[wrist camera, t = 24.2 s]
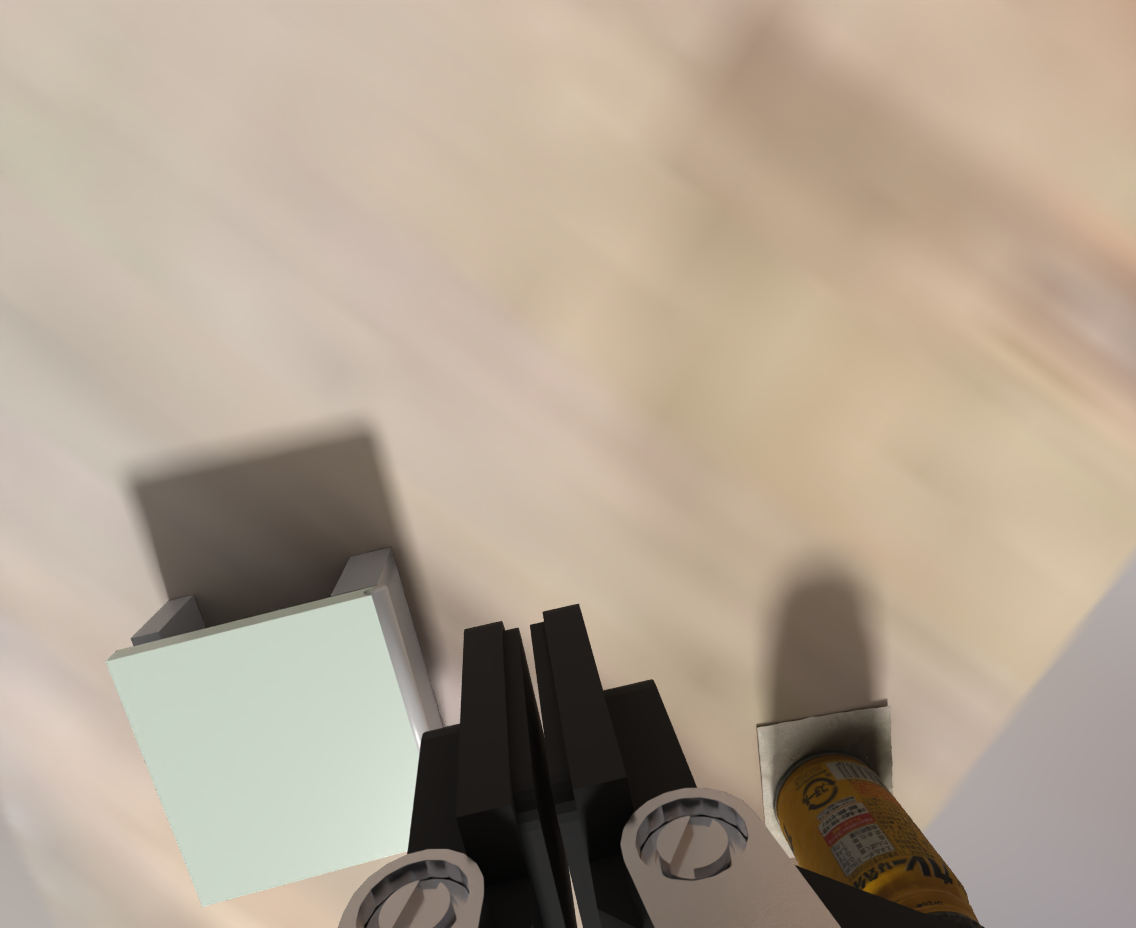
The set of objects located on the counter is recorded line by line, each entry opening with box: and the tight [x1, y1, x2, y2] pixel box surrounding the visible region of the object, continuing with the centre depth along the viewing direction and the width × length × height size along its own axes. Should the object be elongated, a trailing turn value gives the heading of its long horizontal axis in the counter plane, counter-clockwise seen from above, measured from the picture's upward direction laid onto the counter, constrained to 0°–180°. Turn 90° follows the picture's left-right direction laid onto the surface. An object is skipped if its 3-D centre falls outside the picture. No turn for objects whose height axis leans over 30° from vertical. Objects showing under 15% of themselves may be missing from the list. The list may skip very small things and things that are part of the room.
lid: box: [106, 585, 430, 907], centre depth 34 cm, size 12×11×1 cm
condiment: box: [757, 706, 984, 928], centre depth 38 cm, size 7×8×12 cm
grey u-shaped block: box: [131, 547, 443, 730], centre depth 38 cm, size 12×11×5 cm
